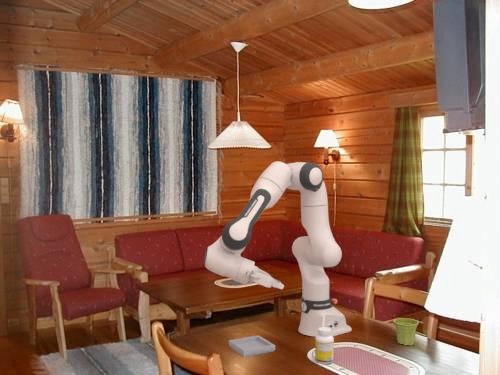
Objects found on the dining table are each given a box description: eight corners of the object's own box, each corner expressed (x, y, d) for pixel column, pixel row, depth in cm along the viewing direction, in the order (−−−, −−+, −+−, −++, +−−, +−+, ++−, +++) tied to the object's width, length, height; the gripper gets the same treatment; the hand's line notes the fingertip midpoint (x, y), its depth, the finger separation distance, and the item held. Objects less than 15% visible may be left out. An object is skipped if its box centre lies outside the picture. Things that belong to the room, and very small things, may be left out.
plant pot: (388, 343, 210) (388, 321, 210) (400, 337, 217) (400, 316, 216) (410, 349, 204) (411, 326, 203) (422, 343, 210) (422, 321, 210)
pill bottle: (323, 356, 196) (323, 324, 195) (337, 361, 191) (337, 329, 190) (311, 360, 192) (311, 328, 191) (325, 366, 187) (325, 333, 186)
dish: (258, 340, 213) (258, 335, 213) (275, 351, 201) (275, 345, 201) (228, 346, 207) (228, 340, 207) (244, 357, 195) (244, 351, 195)
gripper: (250, 265, 184) (288, 280, 184) (248, 261, 204) (282, 275, 204) (243, 283, 183) (281, 297, 183) (242, 277, 204) (276, 290, 204)
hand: (282, 285), depth 194 cm, fingers open, 8 cm apart
